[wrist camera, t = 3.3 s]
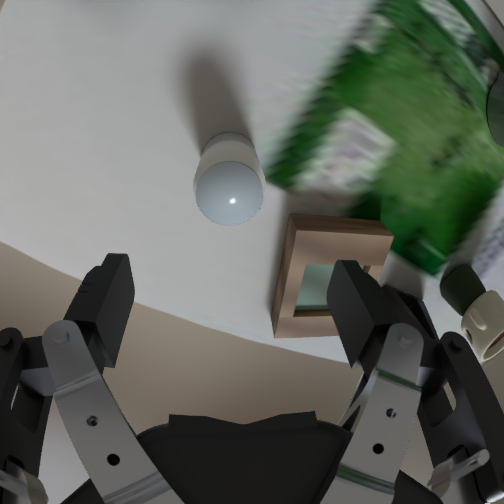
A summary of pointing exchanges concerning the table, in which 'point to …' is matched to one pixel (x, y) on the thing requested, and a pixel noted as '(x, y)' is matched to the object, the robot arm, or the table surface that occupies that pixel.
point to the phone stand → (411, 312)
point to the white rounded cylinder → (229, 180)
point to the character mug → (476, 311)
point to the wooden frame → (321, 269)
